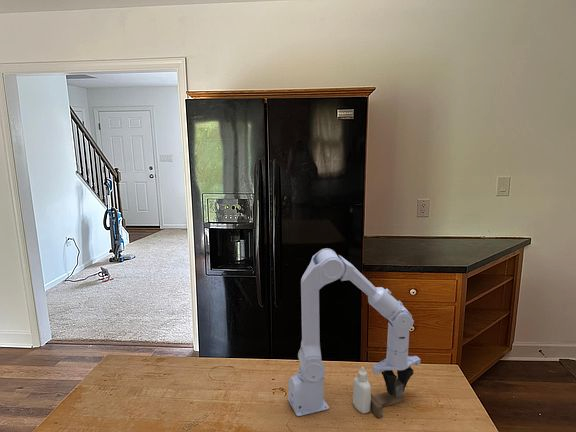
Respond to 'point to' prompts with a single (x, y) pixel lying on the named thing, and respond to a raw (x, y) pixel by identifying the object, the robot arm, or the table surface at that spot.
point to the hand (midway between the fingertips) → (395, 391)
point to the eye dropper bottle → (362, 392)
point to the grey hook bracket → (386, 399)
